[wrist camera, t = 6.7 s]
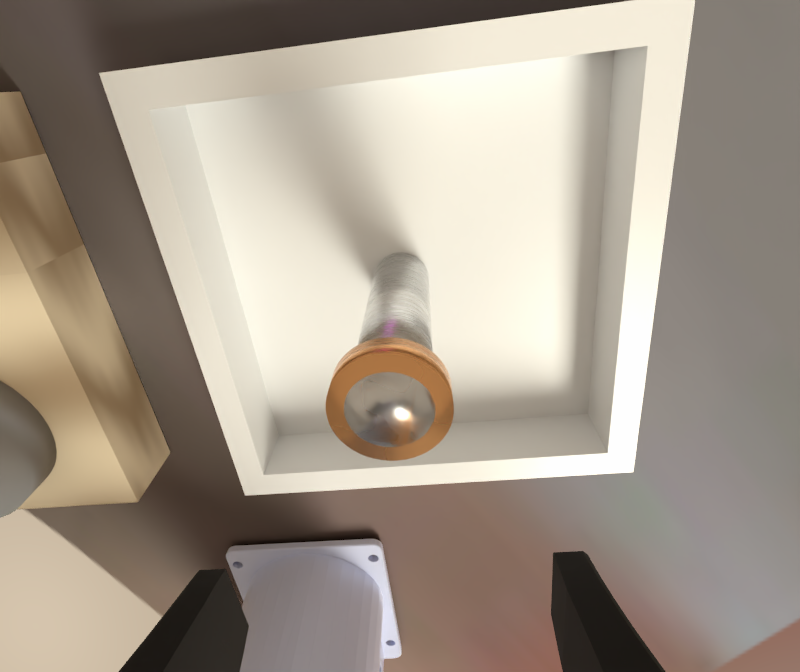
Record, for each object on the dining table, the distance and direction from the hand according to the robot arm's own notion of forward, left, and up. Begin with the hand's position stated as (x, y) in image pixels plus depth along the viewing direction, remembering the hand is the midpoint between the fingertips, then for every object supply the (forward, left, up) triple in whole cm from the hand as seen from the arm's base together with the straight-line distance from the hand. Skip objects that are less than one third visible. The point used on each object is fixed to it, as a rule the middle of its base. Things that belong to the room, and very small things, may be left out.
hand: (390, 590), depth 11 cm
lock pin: (+4, 0, -10) cm, 10 cm away
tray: (+3, -1, -10) cm, 11 cm away
